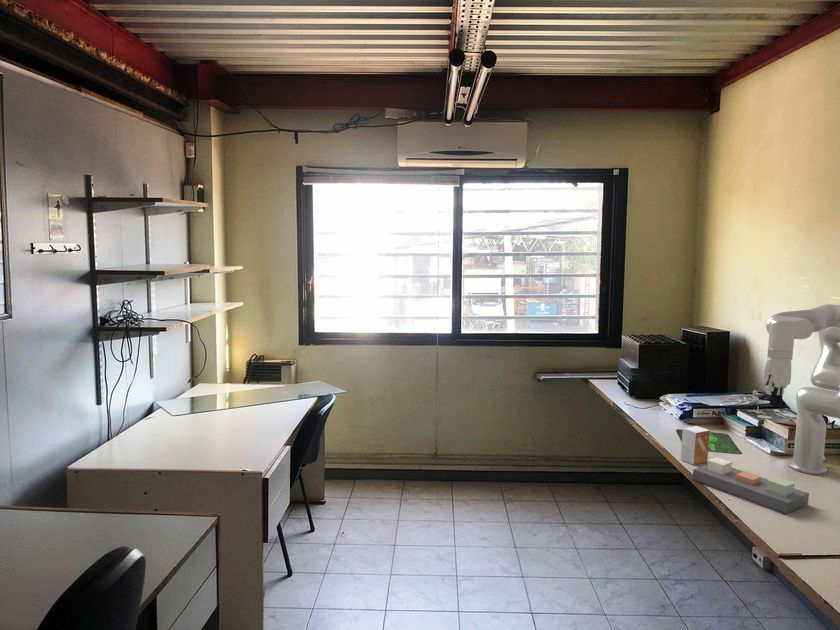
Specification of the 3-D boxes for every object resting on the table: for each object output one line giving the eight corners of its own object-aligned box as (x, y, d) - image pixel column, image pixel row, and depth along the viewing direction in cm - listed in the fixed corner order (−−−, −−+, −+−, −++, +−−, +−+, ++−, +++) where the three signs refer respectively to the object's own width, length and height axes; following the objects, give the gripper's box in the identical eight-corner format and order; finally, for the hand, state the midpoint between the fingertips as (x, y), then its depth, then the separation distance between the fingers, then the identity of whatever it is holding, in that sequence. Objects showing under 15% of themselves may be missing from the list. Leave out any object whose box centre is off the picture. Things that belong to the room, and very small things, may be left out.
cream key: (715, 470, 216) (716, 457, 215) (730, 475, 211) (731, 462, 211) (706, 473, 213) (707, 460, 212) (721, 478, 208) (723, 465, 208)
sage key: (775, 491, 198) (776, 476, 198) (793, 497, 194) (794, 482, 193) (766, 494, 195) (768, 480, 195) (784, 501, 191) (786, 486, 190)
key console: (714, 472, 221) (715, 462, 220) (807, 504, 194) (808, 493, 193) (692, 479, 213) (693, 469, 213) (786, 514, 186) (787, 502, 186)
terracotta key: (744, 484, 207) (745, 471, 207) (760, 490, 203) (761, 476, 202) (735, 488, 204) (736, 474, 204) (751, 494, 200) (752, 479, 199)
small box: (693, 465, 227) (696, 432, 226) (679, 459, 233) (682, 428, 231) (708, 462, 231) (710, 430, 229) (694, 457, 237) (696, 425, 235)
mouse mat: (744, 455, 240) (744, 453, 240) (686, 450, 245) (686, 448, 245) (726, 435, 266) (727, 432, 266) (674, 430, 271) (674, 428, 271)
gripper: (779, 350, 212) (775, 400, 215) (757, 354, 204) (753, 406, 207) (802, 354, 206) (797, 405, 208) (780, 358, 198) (775, 411, 200)
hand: (775, 405), depth 207 cm, fingers closed
